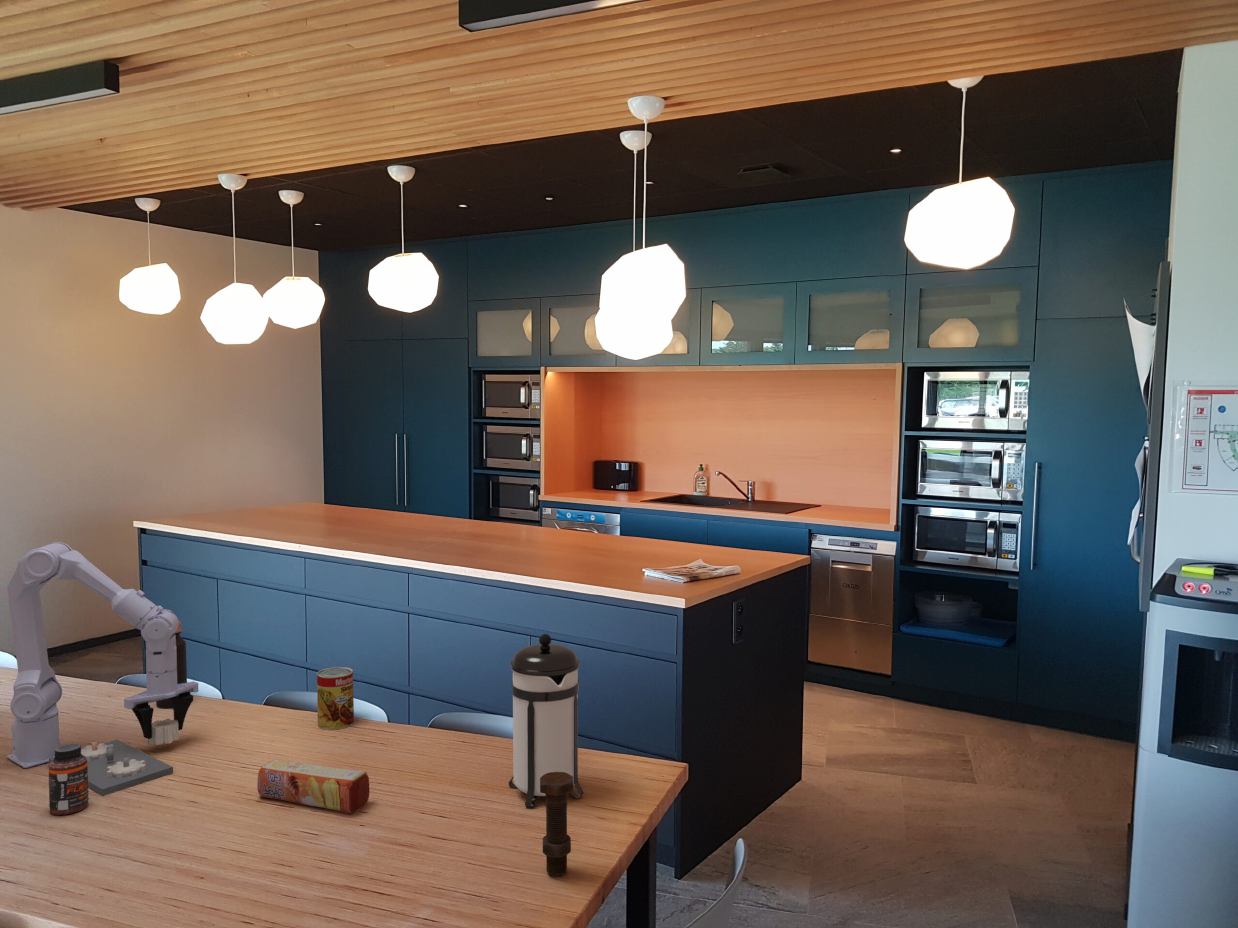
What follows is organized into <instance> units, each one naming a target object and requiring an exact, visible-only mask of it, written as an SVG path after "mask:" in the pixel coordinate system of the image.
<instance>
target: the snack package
mask: <svg viewBox="0 0 1238 928" xmlns="http://www.w3.org/2000/svg"><path fill="white" fill-rule="evenodd" d="M257 792H258V795H259V796H260V797H261V798H268V799H276V800H281V801H285V802H289V803H294V804H300V805H304V806H305V805H306V806H310V807H317V808H323V809H327V810H334V811H337V812H343V813H347V814H353V813H356V812H357V811H359V810H360V809H362V808H363V807H364V806H365V805H366V804H367V802H368V801H369V797H370V777H369V775H368V773H367V772H366V771H364V770H355V769H354V770H353V769H347V768H340V767H333V766H332V767H329V766H324V765H318V764H317V765H315V764H309V763H301V762H294V761H293V762H292V761H285V760H280V759H272V760H271V761H268V762H267V763H266V764H263V766H261V767H260V768H259V770H258V772H257Z"/></svg>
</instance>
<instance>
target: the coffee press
mask: <svg viewBox="0 0 1238 928" xmlns="http://www.w3.org/2000/svg"><path fill="white" fill-rule="evenodd" d="M538 641H539V643H538V644H533V645H532V644H531V645H527V646H525V647H523V648H521V649H520V650H518V651H517V652H516V653H515V654H514V657H513V659H512V660H511V661H510V669H511V671H512V681H511V694H512V742H513V743H512V751H513V753H512V757H513V758H512V759H513V762H512V765H513V768H512V769H513V770H512V771H513V775H512V777H511V779H510V780H509V781H508V786H509V788H511V789H515V788H517V789H518V790H519V791H520V792H522V793H524V794H526V796H525V801H524V806H525V808H530V809H531V808H532V809H533V808H535V806H536V801H537V800H538V797H546V794H545V793H540V777H541V776H543V775H544V774H546V773H550V772H565V773H568V774H570V775H571V776H573V787H574V786H575V788H576V790H577V791H578V793H579V794H578V793H577V792H576V791H575V789H573V792H569V793H568V794H571V796H573V797H574V799H577V800H579V799H581V798H583V797H582V796H583V795H584V794H585V793H584V790H583V788H582V786H581V785H580V783H579V775H578V774H579V772H578V771H579V770H578V769H579V767H578V766H579V764H578V762H579V758H578V755H579V754H578V753H579V752H578V751H579V749H578V748H579V744H578V743H579V739H578V738H579V737H578V735H579V732H578V731H579V730H578V729H579V724H578V723H579V721H578V716H579V710H578V707H579V706H578V704H579V703H578V701H579V700H578V699H579V698H578V697H579V695H578V694H579V692H580V691H579V690H580V680H579V678H578V676H579V675H578V673H579V671H578V670H579V668H580V665H581V662H580V661H581V660H580V659H579V658H578V656H577V654H576V652H575V651H574V650H573V649H571V648H569V647H567V646H565V645H563V644H557V643H552V638H551V636H550V635H549V634H547V633H543V634H541V636H540V637H539V638H538Z"/></svg>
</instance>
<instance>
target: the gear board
mask: <svg viewBox="0 0 1238 928" xmlns="http://www.w3.org/2000/svg"><path fill="white" fill-rule="evenodd" d="M81 754H82V755H84V756H85V757H86V758H87V766H88V789H90V790H92V791H94V792H96V793H98V794H99V795H101V796H106V795H111V794H112V793H115V792H118V791H122V790H125V789H127V788H132V787H133V786H137V785H139V784H143V783H146V782H149V781H152V780H155V779H158V778H162V777H165V776H167V775H170V774H174V766H172V765H170V764H169V763H166V762H164V761H162V760H160V759H158V758H156V757H154V756H153V755H150V754H147V753H146V752H144V751H142V750H139V749H137V748H135V747H133V746H131V745H129V744H127V743H125V742H123V741H121V740H120V739H113V740H110V741H106V742H104V743H99V744H98V741H92V742H91V745H87V746H86V745H85V746H84V747H83V748H81ZM54 758H55V757H53V758H49V762H48V765H49V764H50V762H51V761H52V760H54Z"/></svg>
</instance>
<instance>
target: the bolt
mask: <svg viewBox="0 0 1238 928" xmlns="http://www.w3.org/2000/svg"><path fill="white" fill-rule="evenodd" d="M573 790H574V786H573V776H571V775H570V774H568V773H565V772H550V773H546V774H544V775H543V776H541V777H540V793H545V794H546V796H545V816H546V817H545V824H546V826H545V827H546V828H545V829H546V831H545V835H544V836H543V837H542V853H543V855H545V857H546V859H545V860H546V861H545V862H546V864H545V865H546V866H545V867H546V871H545V872H546V873H547V874H548V875H549V876H550V877H552V878H555V877H560V876H561V877H562V876H565V875H566V874H567V872H568V871H567V870H568V855H569V854H570V853H571V852H572V843H571V842H572V840H571V839H572V838H571V836H570V835H569V834H568V821H567V820H568V813H567V812H568V794H570V793H569V792H573Z"/></svg>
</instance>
